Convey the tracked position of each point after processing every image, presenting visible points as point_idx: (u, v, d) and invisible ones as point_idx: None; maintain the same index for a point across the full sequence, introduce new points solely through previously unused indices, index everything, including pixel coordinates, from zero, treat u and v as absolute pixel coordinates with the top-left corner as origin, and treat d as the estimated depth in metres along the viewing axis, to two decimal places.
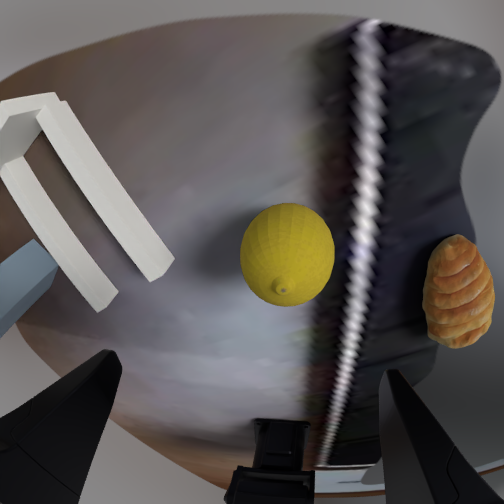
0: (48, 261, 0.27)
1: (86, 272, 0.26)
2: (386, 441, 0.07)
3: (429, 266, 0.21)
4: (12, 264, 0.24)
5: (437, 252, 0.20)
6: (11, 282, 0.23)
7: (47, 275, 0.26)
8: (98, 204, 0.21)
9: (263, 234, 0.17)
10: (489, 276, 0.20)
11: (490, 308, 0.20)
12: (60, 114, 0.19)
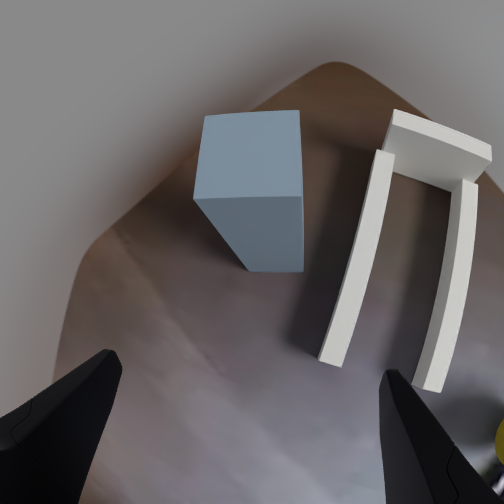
0: (303, 256, 0.23)
1: None
2: (386, 441, 0.07)
3: None
4: None
5: None
6: None
7: (299, 266, 0.22)
8: (456, 290, 0.19)
9: None
10: None
11: None
12: None
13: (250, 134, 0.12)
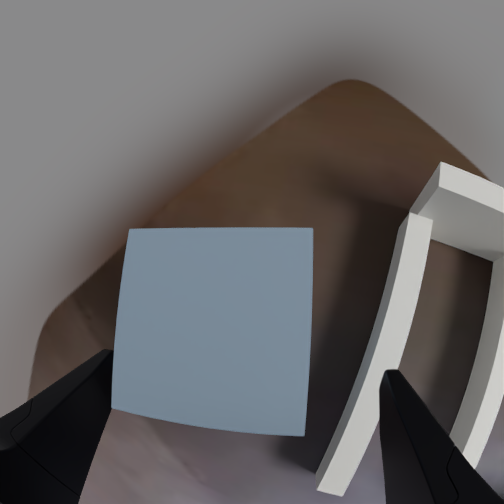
0: None
1: None
2: (386, 441, 0.07)
3: None
4: None
5: None
6: None
7: None
8: (490, 401, 0.13)
9: None
10: None
11: None
12: None
13: (209, 285, 0.06)
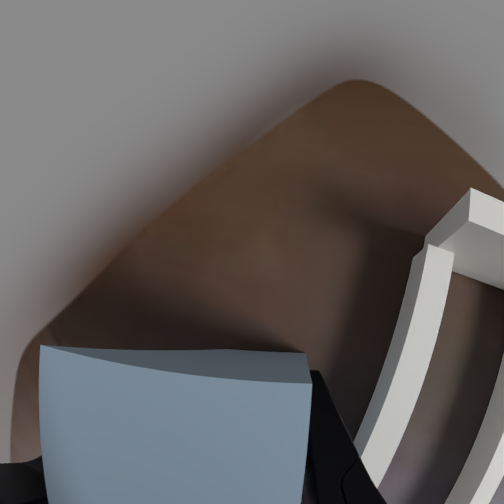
0: None
1: None
2: None
3: None
4: None
5: None
6: None
7: None
8: (502, 452, 0.10)
9: None
10: None
11: None
12: None
13: (148, 455, 0.03)
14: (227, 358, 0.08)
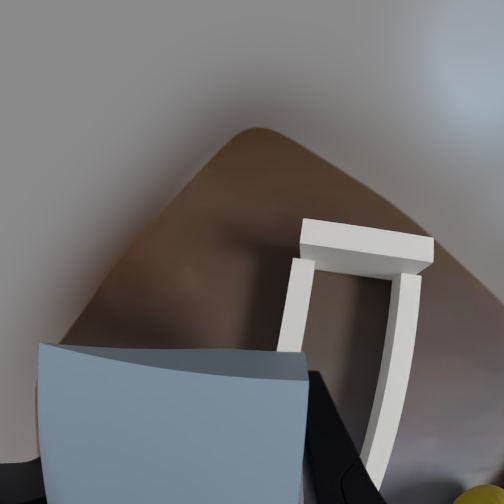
0: None
1: None
2: None
3: None
4: None
5: None
6: None
7: None
8: (389, 407, 0.18)
9: None
10: None
11: None
12: None
13: (146, 452, 0.03)
14: (226, 357, 0.08)
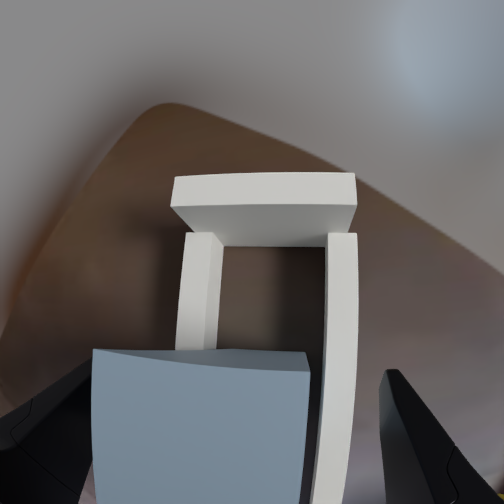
0: None
1: None
2: (386, 441, 0.07)
3: None
4: None
5: None
6: None
7: None
8: (334, 413, 0.14)
9: None
10: None
11: None
12: None
13: (187, 430, 0.05)
14: (239, 356, 0.09)
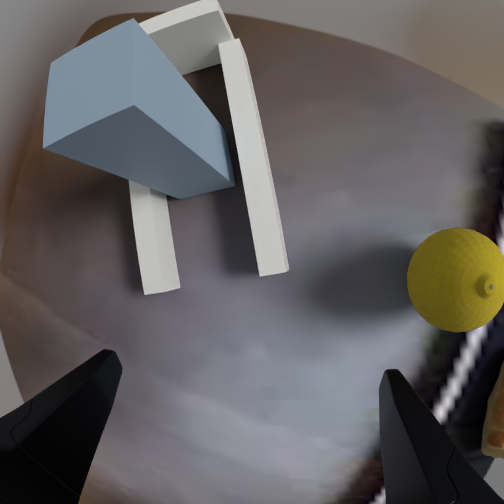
0: (230, 169, 0.21)
1: (161, 237, 0.20)
2: (386, 441, 0.07)
3: None
4: (209, 120, 0.17)
5: None
6: (203, 130, 0.16)
7: (223, 180, 0.19)
8: (248, 155, 0.19)
9: (466, 234, 0.13)
10: None
11: None
12: (244, 58, 0.20)
13: (87, 62, 0.09)
14: None
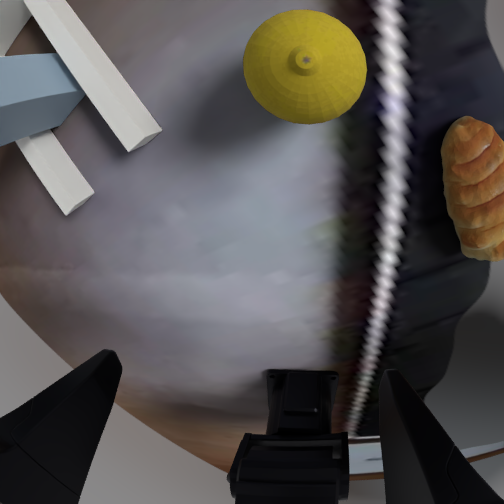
0: None
1: (56, 164, 0.20)
2: (386, 441, 0.07)
3: (443, 156, 0.16)
4: (30, 63, 0.14)
5: (448, 135, 0.15)
6: (21, 77, 0.13)
7: (71, 94, 0.17)
8: (75, 64, 0.15)
9: (272, 18, 0.10)
10: None
11: None
12: None
13: None
14: None
